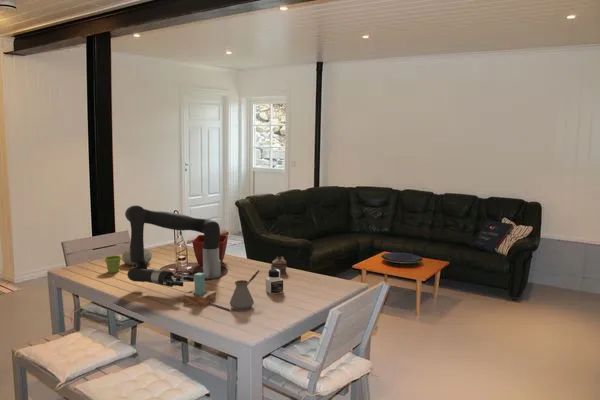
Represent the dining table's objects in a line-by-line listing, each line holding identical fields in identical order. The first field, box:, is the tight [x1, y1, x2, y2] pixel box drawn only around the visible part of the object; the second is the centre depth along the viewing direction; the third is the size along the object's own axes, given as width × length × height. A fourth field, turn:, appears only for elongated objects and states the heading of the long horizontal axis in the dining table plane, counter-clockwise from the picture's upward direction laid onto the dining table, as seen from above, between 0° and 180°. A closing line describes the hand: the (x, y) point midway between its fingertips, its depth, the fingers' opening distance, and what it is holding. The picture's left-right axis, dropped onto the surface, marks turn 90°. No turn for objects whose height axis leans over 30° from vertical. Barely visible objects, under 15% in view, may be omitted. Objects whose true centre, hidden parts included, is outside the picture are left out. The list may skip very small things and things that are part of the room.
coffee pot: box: [229, 269, 262, 312], centre depth 238 cm, size 21×12×15 cm, turn 151°
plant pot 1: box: [104, 255, 122, 274], centre depth 292 cm, size 9×9×9 cm
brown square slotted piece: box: [183, 289, 217, 307], centre depth 244 cm, size 11×11×4 cm
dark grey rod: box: [208, 302, 230, 312], centre depth 236 cm, size 14×1×1 cm, turn 51°
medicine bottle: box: [265, 268, 284, 295], centre depth 258 cm, size 7×7×12 cm
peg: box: [193, 272, 206, 296], centre depth 243 cm, size 4×4×14 cm
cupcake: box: [270, 256, 288, 276], centre depth 291 cm, size 10×10×10 cm
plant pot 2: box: [192, 234, 229, 268], centre depth 309 cm, size 19×19×17 cm
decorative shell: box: [121, 248, 153, 266], centre depth 309 cm, size 18×18×10 cm
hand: (188, 281), depth 246 cm, fingers open, 8 cm apart
